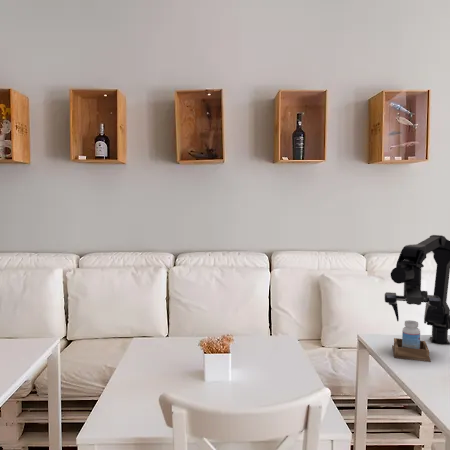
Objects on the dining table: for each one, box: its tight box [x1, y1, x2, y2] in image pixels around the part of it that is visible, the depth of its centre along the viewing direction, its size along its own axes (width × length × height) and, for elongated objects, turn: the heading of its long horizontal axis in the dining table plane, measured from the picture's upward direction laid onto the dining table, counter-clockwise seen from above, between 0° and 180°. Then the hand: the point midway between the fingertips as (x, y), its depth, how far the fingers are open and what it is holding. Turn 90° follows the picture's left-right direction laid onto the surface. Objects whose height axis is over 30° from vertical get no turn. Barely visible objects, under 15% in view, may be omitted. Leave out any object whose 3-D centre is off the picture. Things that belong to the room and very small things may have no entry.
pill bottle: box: [401, 320, 421, 349], centre depth 161 cm, size 6×6×11 cm
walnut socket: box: [391, 337, 432, 363], centre depth 161 cm, size 12×12×4 cm
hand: (411, 322), depth 161 cm, fingers open, 9 cm apart
